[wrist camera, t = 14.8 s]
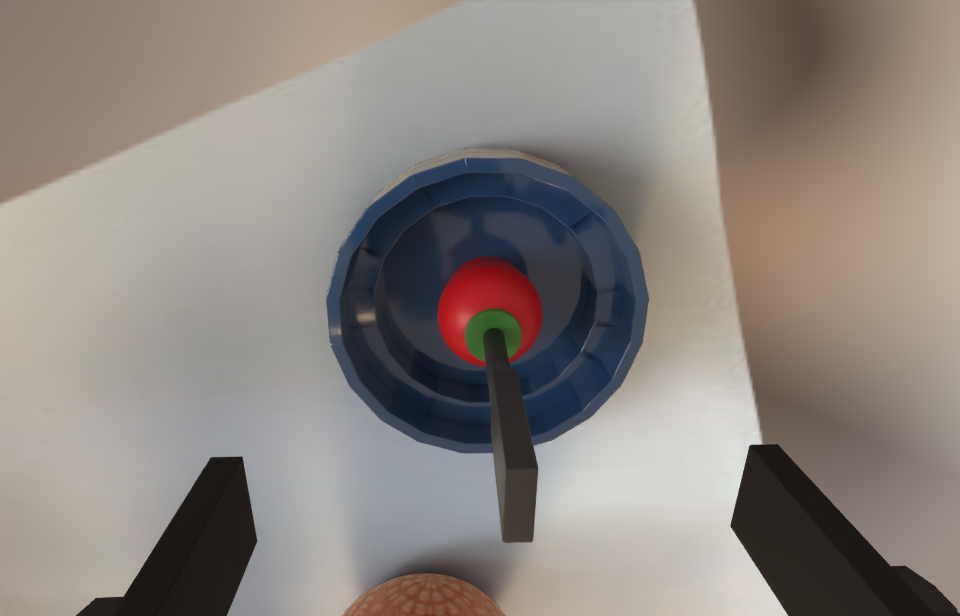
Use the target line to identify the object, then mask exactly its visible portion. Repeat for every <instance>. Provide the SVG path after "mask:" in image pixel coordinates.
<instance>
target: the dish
mask: <svg viewBox="0 0 960 616" xmlns="http://www.w3.org/2000/svg"><path fill="white" fill-rule="evenodd" d="M485 256H490V257H497V258H501V259H504V260H506V261H508V262H509V263H511V264H512V265H513V266H515V267H516V268H517V269H518V271H520V272H521V273H523V274H524V275H525V276H526V277H527V278H528V279H529V280H530V281H531V282H532V284H533V285H534V287H535V288H536V290H537V292H538V294H539V297H540V300H541V304H542V325H541V329H540V332H539V334H538V337H537V339H536V341H535V342H534V344H533V345H532V347H531V348H530V349H529V350H528V351H527V352H526V353H525V354H524V355H523V356H521V357H520V358H519V359H517V360H515V361H513V362H511V363H510V367H511V369H516V370H517V374H518V378H519V383H520V387H521V392H522V396H523V401H524V406H525V410H526V415H527V419H528V424H529V428H530V433H531V437H532V442H533V446H534V445H537V444H541V443H544V442H548V441H551V440H554V439H555V438H557V437H559V436H560V435H562V434H564V433H565V432H567V431H569V430H570V429H572V428H574V427H575V426H577V425H579V424H581V423H582V422H584V421H586V420H587V419H589V418H590V417H592V416H593V415H594V414H595V413H596V411H597V410H598V409H599V408H600V407H601V406H602V405H603V404H604V403H605V402H606V401H607V400H608V399H609V398H610V397H611V396H612V395H613V393H614V392H615V391H616V390H617V389H618V388H619V387H620V386H621V385H622V383H623V381H624V379H625V377H626V375H627V373H628V371H629V369H630V367H631V365H632V363H633V361H634V359H635V357H636V355H637V353H638V351H639V349H640V347H641V345H642V343H643V336H644V329H645V322H646V315H647V308H648V301H649V298H648V292H647V287H646V282H645V277H644V272H643V267H642V262H641V257H640V253H639V250H638V248H637V246H636V245H635V243H634V241H633V240H632V238H631V237H630V235H629V233H628V232H627V230H626V228H625V227H624V225H623V223H622V222H621V220H620V219H619V217H618V215H617V214H616V212H615V210H614V209H613V208H612V207H610V206H609V205H608V204H607V203H606V202H604V201H603V200H602V199H601V198H599V197H598V196H597V195H596V194H594V193H593V192H592V191H591V190H589V189H588V188H587V187H586V186H584V185H583V184H582V183H581V182H579V181H578V180H577V179H576V178H574V177H573V176H572V175H571V174H569V173H568V172H567V171H565V170H564V169H563V168H562V167H560V166H558V165H557V164H554V163H551V162H548V161H545V160H543V159H540V158H537V157H534V156H531V155H528V154H526V153H523V152H520V151H517V150H513V149H477V148H464V150H463V149H460V150H457V151H454V152H451V153H448V154H445V155H442V156H438V157H435V158H432V159H429V160H426V161H423V162H420V163H418V164H415V165H414V166H412V167H411V168H410V169H408V170H407V171H406V172H404V173H403V174H402V175H400V176H399V177H398V178H396V179H395V180H394V181H392V182H391V183H390V184H388V185H387V186H386V187H384V188H383V189H382V190H380V191H379V192H378V193H377V194H376V195H375V197H374V198H373V200H372V201H371V203H370V204H369V206H368V207H367V208H366V210H365V211H364V213H363V214H362V216H361V217H360V219H359V220H358V222H357V223H356V225H355V226H354V228H353V229H352V230H351V232H350V233H349V235H348V236H347V238H346V239H345V241H344V242H343V244H342V245H341V247H340V248H339V251H338V253H337V257H336V260H335V264H334V268H333V272H332V276H331V280H330V284H329V288H328V291H327V295H326V304H327V315H328V325H329V336H330V344H331V347H332V349H333V351H334V354H335V356H336V358H337V360H338V362H339V364H340V367H341V369H342V371H343V373H344V375H345V378H346V380H347V382H348V384H349V386H350V387H351V388H352V390H353V391H354V392H355V393H356V394H357V395H358V396H359V397H360V398H361V399H362V400H363V401H364V402H365V403H366V405H367V406H368V407H369V408H370V409H371V410H372V411H373V412H374V413H375V414H376V415H377V416H378V417H379V418H380V419H381V420H382V421H384V422H385V423H387V424H389V425H390V426H392V427H394V428H396V429H397V430H399V431H401V432H402V433H404V434H406V435H408V436H409V437H411V438H413V439H415V440H416V441H418V442H421V443H425V444H429V445H433V446H437V447H441V448H445V449H448V450H452V451H456V452H460V453H493V447H492V437H491V403H490V397H489V388H488V380H487V371H486V367H483V366H478V365H475V364H471V363H469V362H467V361H465V360H463V359H461V358H460V357H459V356H457V355H456V354H455V353H454V352H453V351H452V350H451V349H450V348H449V347H448V345H447V344H446V342H445V340H444V339H443V337H442V334H441V332H440V329H439V324H438V305H439V300H440V297H441V295H442V292H443V290H444V288H445V287H446V285H447V284H448V283H449V281H450V279H451V277H452V275H453V274H454V272H455V271H456V270H457V269H458V268H459V267H460V266H461V265H463V264H464V263H466V262H467V261H469V260H472V259H474V258H478V257H485Z"/></svg>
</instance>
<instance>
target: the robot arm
mask: <svg viewBox="0 0 960 616" xmlns="http://www.w3.org/2000/svg"><path fill="white" fill-rule="evenodd" d="M730 526H731V528H732V529H733V531H734V532H735V534H736V536H737V537H738V539H739V540H740V542H741V543H742V545H743V546H744V548H745V549H746V551H747V553H748V554H749V556H750V557H751V559H752V560H753V562H754V563H755V565H756V566H757V568H758V569H759V571H760V573H761V574H762V576H763V577H764V579H765V580H766V582H767V583H768V585H769V586H770V588H771V590H772V591H773V593H774V594H775V596H776V597H777V599H778V600H779V602H780V603H781V605H782V606H783V608H784V610H785V611H786V613H787V614H788V616H960V614H959V613H958V612H957V609H956V607H955V606H954V605H953V604H952V603H951V602H950V601H949V600H948V599H947V598H946V597H945V596H944V595H943V594H942V593H941V592H940V591H939V590H938V589H937V588H936V587H935V586H934V585H932V584H931V583H930V582H928V581H927V580H925V579H924V578H922V577H921V576H920V575H918V574H917V573H915V572H913V571H912V570H911V569H909V568H908V567H906V566H890V565H889V564H888V563H887V562H886V561H885V560H884V559H883V557H882V556H881V555H880V554H879V553H878V552H877V551H876V550H875V549H874V548H873V547H872V546H871V544H870V543H868V541H867V540H866V539H865V538H864V537H863V536H862V535H861V534H860V533H859V532H858V530H857V529H856V528H855V527H854V526H853V525H852V524H851V523H850V522H849V521H848V520H847V519H846V518H845V516H843V514H842V513H841V512H840V511H839V510H838V509H837V508H836V507H835V506H834V505H833V504H832V502H831V501H830V500H829V499H828V498H827V497H826V496H825V495H824V494H823V493H822V492H821V491H820V490H819V488H818V487H817V486H816V485H815V484H814V483H813V482H812V481H811V480H810V479H809V478H808V477H807V476H806V475H805V473H804V472H803V471H802V470H801V469H800V468H799V467H798V466H797V465H796V464H795V463H794V461H793V460H792V459H791V458H790V457H789V456H788V455H787V454H786V453H785V452H784V451H783V450H782V449H781V447H780V446H779V445H777V444H776V445H775V444H774V445H750V446H749V450H748V454H747V459H746V463H745V467H744V471H743V475H742V479H741V484H740V488H739V492H738V496H737V500H736V505H735V509H734V513H733V517H732V521H731V525H730ZM256 543H257V537H256V532H255V526H254V520H253V514H252V509H251V503H250V497H249V492H248V486H247V480H246V474H245V469H244V463H243V457H211V458H210V460H209V461H208V463H207V465H206V466H205V468H204V469H203V471H202V472H201V474H200V476H199V477H198V479H197V480H196V482H195V484H194V485H193V487H192V488H191V490H190V492H189V493H188V495H187V496H186V498H185V500H184V501H183V503H182V504H181V506H180V508H179V509H178V511H177V512H176V514H175V516H174V517H173V519H172V520H171V522H170V524H169V525H168V527H167V528H166V530H165V531H164V533H163V535H162V536H161V538H160V539H159V541H158V543H157V544H156V546H155V547H154V549H153V551H152V552H151V554H150V555H149V557H148V559H147V560H146V562H145V563H144V565H143V567H142V568H141V570H140V571H139V573H138V575H137V576H136V578H135V579H134V581H133V583H132V584H131V586H130V587H129V589H128V590H127V592H126V594H125V595H124V597H106V598H95V599H94V600H93V601H92V602H91V603H90V604H89V605H87V606H86V607H85V608H84V609H83V610H82V611H81V612H79V613H78V614H77V615H76V616H227V614H228V611H229V609H230V606H231V604H232V602H233V599H234V597H235V594H236V592H237V589H238V587H239V585H240V582H241V580H242V577H243V575H244V572H245V570H246V567H247V565H248V563H249V560H250V558H251V555H252V553H253V550H254V548H255V546H256Z"/></svg>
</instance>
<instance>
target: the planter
mask: <svg viewBox="0 0 960 616" xmlns="http://www.w3.org/2000/svg"><path fill="white" fill-rule="evenodd" d="M342 616H505V615H504V613H503V612H502V610H501V609H500V607H499V606H498V605H497V604H496V603H495V602H494V601H493V600H492V599H491V598H490V597H489V596H488V595H487V594H485V593H484V592H483V591H481V590H480V589H478V588H477V587H475V586H473V585H471V584H469V583H467V582H465V581H463V580H460V579H457V578H454V577H451V576H446V575H441V574H432V573H419V574H410V575H405V576H400V577H397V578H393V579H390V580H388V581H385V582H383V583H381V584H379V585H377V586H375V587H373V588H372V589H370V590H368V591H367V592H365V593H364V594H363V595H361V596H360V597H359V598H358V599H357V600H356V601H355V602H354V603H353V604H352V605H351V606H350V607H349V608H348V609H347V610H346V612H345V613H344V614H343V615H342Z"/></svg>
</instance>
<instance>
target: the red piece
mask: <svg viewBox="0 0 960 616" xmlns="http://www.w3.org/2000/svg"><path fill="white" fill-rule="evenodd" d="M438 324H439V329H440V332H441V334H442V337H443V339H444V340H445V342H446V344H447V345H448V347H449V348H450V349H451V350H452V351H453V352H454V353H455V354H456V355H457V356H459V357H460V358H461V359H463V360H465V361H467V362H469V363H471V364H475V365H478V366H483V367H486V371H487V380H488V388H489V397H490V403H491V437H492V447H493V456H494V466H495V475H496V484H497V494H498V503H499V513H500V522H501V531H502V541H503V542H504V543H516V542H532V541H533V535H534V521H535V506H536V492H537V477H538V465H537V460H536V456H535V451H534V447H533V442H532V437H531V433H530V428H529V424H528V419H527V415H526V410H525V406H524V401H523V396H522V392H521V387H520V383H519V378H518V374H517V370H516V369H511V367H510V363H511V362H513V361H515V360H517V359H519V358H520V357H521V356H523V355H524V354H525V353H526V352H527V351H528V350H529V349H530V348H531V347H532V345H533V344H534V342H535V341H536V339H537V337H538V334H539V332H540V329H541V325H542V304H541V300H540V297H539V294H538V292H537V290H536V288H535V287H534V285H533V284H532V282H531V281H530V280H529V279H528V278H527V277H526V276H525V275H524V274H523V273H521V272H520V271H518V269H517V268H516V267H515V266H513V265H512V264H511V263H509V262H508V261H506V260H504V259H501V258H497V257H490V256H485V257H478V258H474V259H472V260H469V261H467V262H466V263H464V264H463V265H461V266H460V267H459V268H458V269H457V270H456V271H455V272H454V274H453V275H452V277H451V279H450V281H449V283H448V284H447V285H446V287H445V288H444V290H443V292H442V295H441V297H440V300H439V305H438Z"/></svg>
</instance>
